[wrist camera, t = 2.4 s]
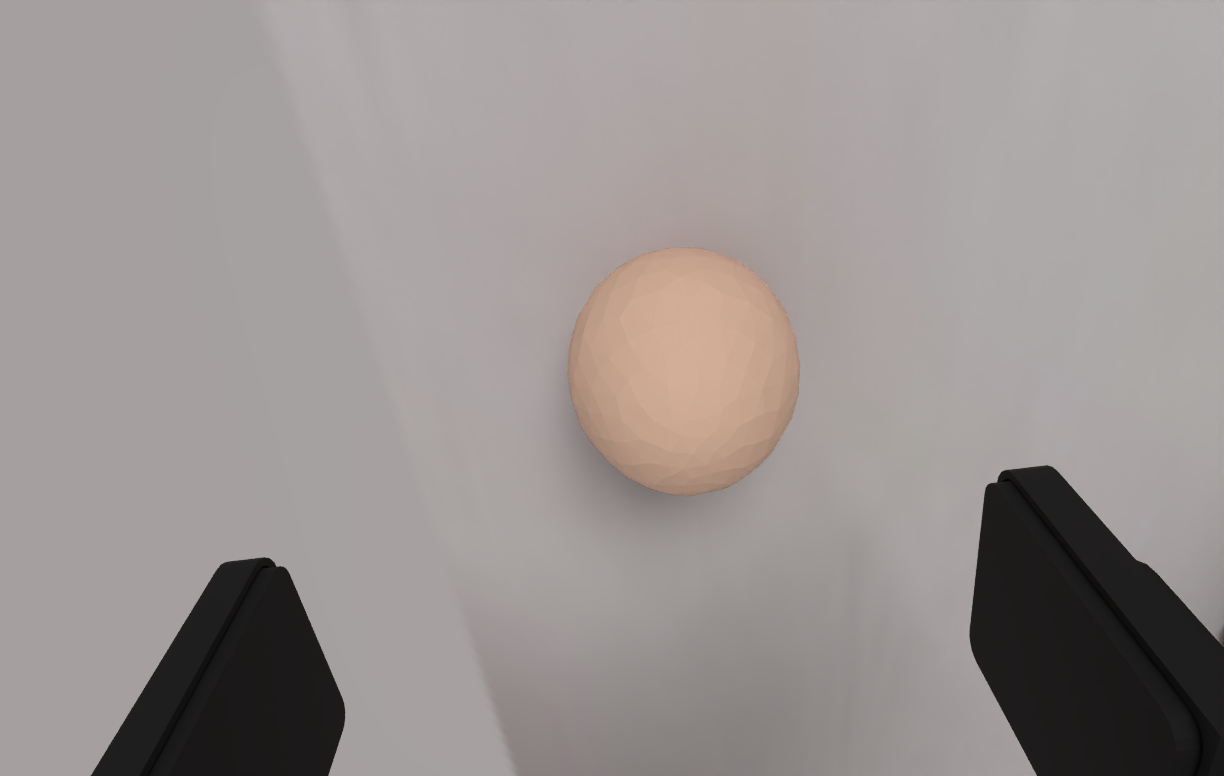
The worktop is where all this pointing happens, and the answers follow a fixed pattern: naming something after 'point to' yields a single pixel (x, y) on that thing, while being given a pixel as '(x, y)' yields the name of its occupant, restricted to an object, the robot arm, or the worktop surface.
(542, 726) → the worktop surface
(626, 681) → the worktop surface
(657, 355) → the egg
